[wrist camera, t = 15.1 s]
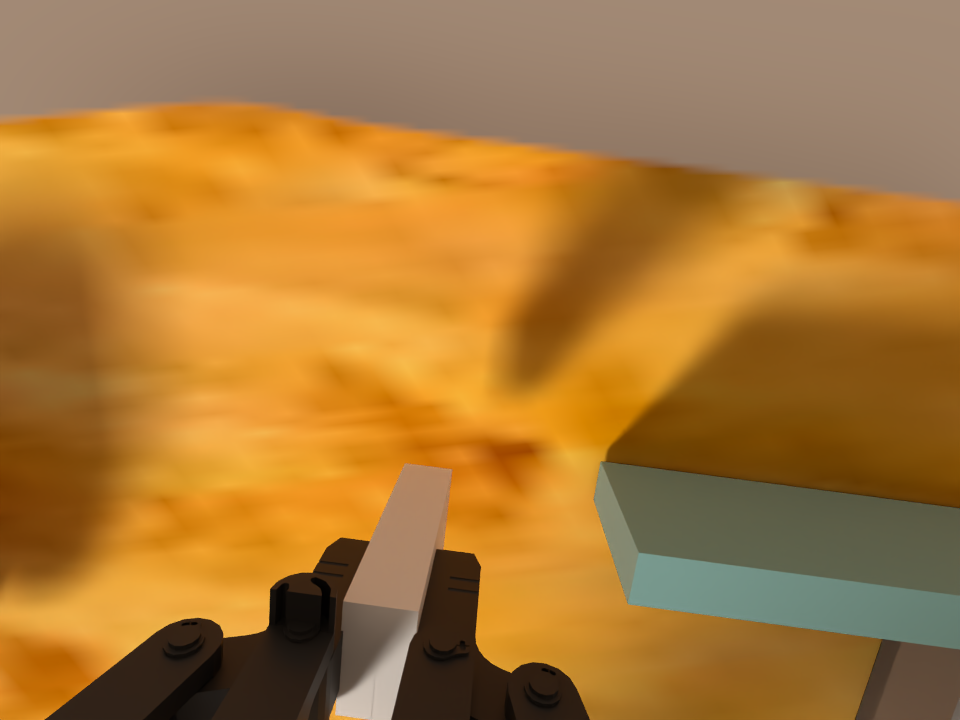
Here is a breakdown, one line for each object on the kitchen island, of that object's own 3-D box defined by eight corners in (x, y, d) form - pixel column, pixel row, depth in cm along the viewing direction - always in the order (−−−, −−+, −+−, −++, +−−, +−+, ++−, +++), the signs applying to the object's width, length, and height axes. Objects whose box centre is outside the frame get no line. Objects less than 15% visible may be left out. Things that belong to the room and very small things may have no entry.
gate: (989, 552, 20) (1185, 680, 14) (593, 499, 21) (627, 604, 15) (1004, 514, 20) (1210, 629, 14) (600, 461, 20) (638, 552, 14)
